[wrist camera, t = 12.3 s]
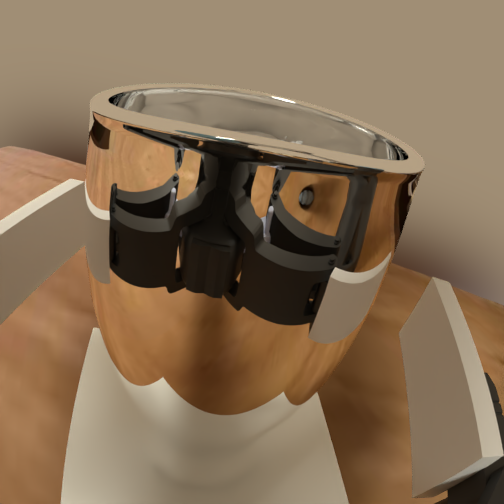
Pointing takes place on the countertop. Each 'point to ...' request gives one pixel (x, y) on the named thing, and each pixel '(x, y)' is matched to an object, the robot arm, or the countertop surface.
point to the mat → (163, 488)
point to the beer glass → (233, 258)
